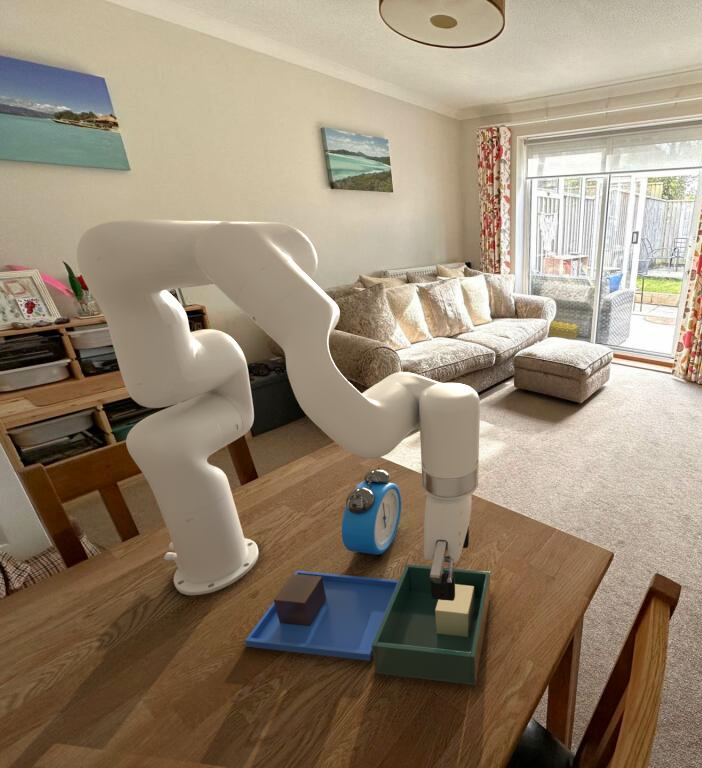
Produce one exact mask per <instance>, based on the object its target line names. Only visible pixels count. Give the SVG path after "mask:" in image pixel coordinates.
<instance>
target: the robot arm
mask: <svg viewBox="0 0 702 768" xmlns="http://www.w3.org/2000/svg"><path fill="white" fill-rule="evenodd" d="M76 260H77V261H76V262H77V266H78V269H79V273H80V275H81V277H82V279H83V281H84V283H85V286H86V287H87V289H88V290H89V291H90V293H91V295H92V296H93V298H94V299H95V301H96V303H97V304H98V306H99V308H100V310H101V312H102V314H103V316H104V318H105V319H104V320H105V321H106V324H107V329H108V332H109V336H110V338H111V343H112V347H113V351H114V354H115V358H116V359H117V360H116V361H117V364H118V368H119V372H120V375H121V378H122V381H123V383H124V387H125V389H126V392H127V393H128V395H129V397H130V398H131V399H132V400H133V401H134V402H135V403H136V404H138V405H139V406H142V407H145V408H149V409H161V408H164V409H161V410H159V411H157V412H155V413H153V414H150V415H148V416H147V417H145V418H143V419H142V420H140V421H138V422H137V423H136V424H135V425H134V426H133V427H132V428H131V429H130V430H129V432H128V433H127V436H126V439H125V445H126V449H127V451H128V454H129V455H130V457H131V459H132V460H133V462H134V463H135V465H136V466H137V467H138V468H139V470H140V471H141V473H142V475H143V476H144V477H145V479H146V481H147V483H148V485H149V486H150V488H151V491H152V494H153V495H154V498H155V500H156V503H157V506H158V508H159V511H160V513H161V516H162V519H163V522H164V525H165V527H166V531H167V532H168V535H169V538H170V543H169V545H168V551H167V552H166V553H165V554H164V556H163V560H164V561H168V562H175V564H176V567H177V568H176V570H175V572H174V574H173V584H174V588H175V589H176V590H177V591H178V592H179V593H180V594H183V595H184V596H185V595H186V596H199V595H200V596H201V595H205V594H210V593H213V592H217V591H219V590H222V589H225V588H227V587H228V586H231V585H232V584H234V583H235V582H237V581H238V580H240V579H241V578H242V577H244V576H245V575H246V574H247V573H249V572H250V571H251V569H252V568H253V567H254V566H255V565H256V563H257V561H258V559H259V554H260V552H259V548H258V545H257V543H256V542H255V541H254V540H252V539H250V538H246V537H245V536H244V533H243V532H244V531H243V528H242V525H241V521H240V518H239V514H238V510H237V507H236V504H235V499H234V497H233V493H232V489H231V486H230V483H229V479H228V476H227V475H226V472H224V471H223V470H222V469H221V468H219V467H217V466H215V465H212V464H210V463H209V462H208V458H209V457H210V456H212V455H213V454H214V453H216V452H218V451H219V450H221V449H223V448H224V447H226V446H228V445H230V444H231V443H234V442H235V441H236V440H238V439H240V438H242V437H243V436H244V435H246V434H247V433H248V432H249V431H250V430H251V429H252V427H253V424H254V420H255V413H254V412H255V411H254V404H253V403H254V402H253V396H252V388H251V383H250V375H249V369H248V362H247V360H246V356H245V354H244V352H243V350H242V348H241V346H240V345H239V344H238V343H237V342H236V340H235V339H234V338H233V337H232V336H230V335H229V334H228V333H225V332H223V331H221V330H218V329H212V328H210V329H209V328H207V329H206V328H205V329H199V330H194V331H191V329H190V324H189V319H188V315H187V312H186V310H185V309H184V307H183V305H182V304H181V303H180V302H179V300H178V299H177V298H176V297H175V296H173V295H172V293H170V292H169V290H170V291H171V290H178V289H187V288H193V287H195V288H196V287H203V286H208V285H214V286H216V287H217V288H218V290H220V291H221V292H222V293H223V294H224V295H225V296H226V297H227V298H228V299H229V300H230V301H231V302H232V303H234V304H235V306H237V307H238V308H239V309H240V310H241V311H242V312H243V313H244V314H245V315H246V316H247V317H249V319H251V320H252V322H254V324H256V325H257V326H258V327H259V328H260V329H261V330H262V331H263V332H264V333H265V334H266V335H267V336H269V337H270V338H271V339H272V340H273V341H274V342H275V343H276V344H277V345H278V346H279V347H280V348H281V349H282V351H283V353H284V356H285V366H286V367H285V368H286V374H287V378H288V380H289V383H290V386H291V387H290V388H291V389H292V392H293V394H294V397H295V399H296V401H297V403H298V404H299V407H300V408H301V410H302V411H303V412H304V414H305V415H306V416H307V417H308V418H309V419H310V420H311V421H312V422H313V424H315V425H316V426H317V427H318V428H319V429H320V430H321V431H322V432H323V433H324V434H326V436H328V437H329V438H330V439H331V440H332V441H334V443H336V445H338V446H340V448H342V449H343V450H345V451H347V452H348V453H350V454H352V455H353V456H357V457H359V458H361V459H367V460H373V459H380V458H382V457H384V456H386V455H388V454H390V453H391V452H393V450H395V449H396V448H397V447H398V446H399V445H400V444H401V443H402V442H403V441H404V440H405V438H407V436H409V434H411V432H413V431H416V430H419V439H420V461H421V462H420V463H421V464H420V465H421V482H422V483H421V487H422V490H423V491H424V493H425V494H426V496H425V497H426V499H425V505H424V515H423V558H424V560H425V561H431V562H432V563H431V564H432V565H431V566H432V568H431V573H430V580H431V595H432V598H433V599H439V600H449V601H453V600H454V599H455V577H454V576H453V570H454V569H455V564H456V563H457V562H458V561H459V560H460V558H461V554H462V551H463V549H468V547H469V544H470V526H469V525H470V522H471V516H472V503H473V502H472V501H473V500H472V499H473V497H472V495H473V494H474V493H475V492H476V490H477V489H478V487H479V470H480V469H479V467H480V427H481V422H480V421H481V401H480V400H481V399H480V395H479V394H478V392H477V391H476V390H475V389H474V388H472V387H471V386H470V385H467V384H463V383H459V382H440V381H436V380H434V379H431V378H428V377H426V376H422V375H420V374H417V373H413V372H409V371H398V372H394V373H392V374H390V375H388V376H386V377H385V378H383V379H382V380H381V381H378V383H375V384H374V385H372V386H371V387H369V388H367V389H366V390H364V391H363V392H362V393H361V392H360V391H359V390H358V389H357V388H356V387H355V386H354V385H353V383H351V382H350V381H348V379H347V378H346V377H345V376H344V375H343V374H342V373H341V371H340V370H339V368H338V367H337V366H336V364H335V362H334V360H333V358H332V355H331V352H330V347H329V340H330V339H329V338H330V335H331V334H332V333H333V331H334V329H335V328H336V326H337V324H338V323H339V321H340V316H341V312H340V311H341V310H340V308H339V305H338V303H336V301H334V300H333V299H332V298H331V297H330V296H329V295H328V294H327V293H326V292H325V291H324V290H323V289H322V288H321V287H320V286H319V285H317V284H316V282H314V281H313V280H312V278H313V277H314V276H315V274H316V272H317V269H318V254H317V251H316V249H315V247H314V245H313V243H312V242H311V241H310V239H309V238H308V236H306V235H305V234H304V233H303V232H302V231H300V229H298V228H296V227H294V226H292V225H290V224H287V223H285V222H278V221H277V222H276V221H222V220H221V221H220V220H178V219H177V220H176V219H123V220H114V221H107V222H103V223H100V224H97V225H94V226H92V227H90V228H89V229H87V230H86V231H85V232H83V234H82V235H81V236H80V238H79V241H78V243H77V248H76ZM447 553H448V556H447ZM445 563H448V567H447V568H448V573H445V572H443V567H444V566H445V565H444V564H445Z"/></svg>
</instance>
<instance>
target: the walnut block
mask: <svg viewBox="0 0 702 768" xmlns="http://www.w3.org/2000/svg"><path fill="white" fill-rule="evenodd" d="M325 600H326V595H325V590H324V585H323V580H322V577H320V576H309V575H299V574H295V573H292V574H291V576H290V577H289V578H288V580H287V581H286V582H285V583H284V585H283V586H282V588H281V589H280V591H279V592H278V593H277V595H276V596H275V597H274V599H273V602H274V604H275V607H276V611H277V615H278V619H279V622H280V623H284V624H294V625H303V626H310V625H311V624H312V622H313V620H314V619H315V617H316V615H317V614H318V612H319V610H320V609H321V607H322V605H323V604H324V602H325Z"/></svg>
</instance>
